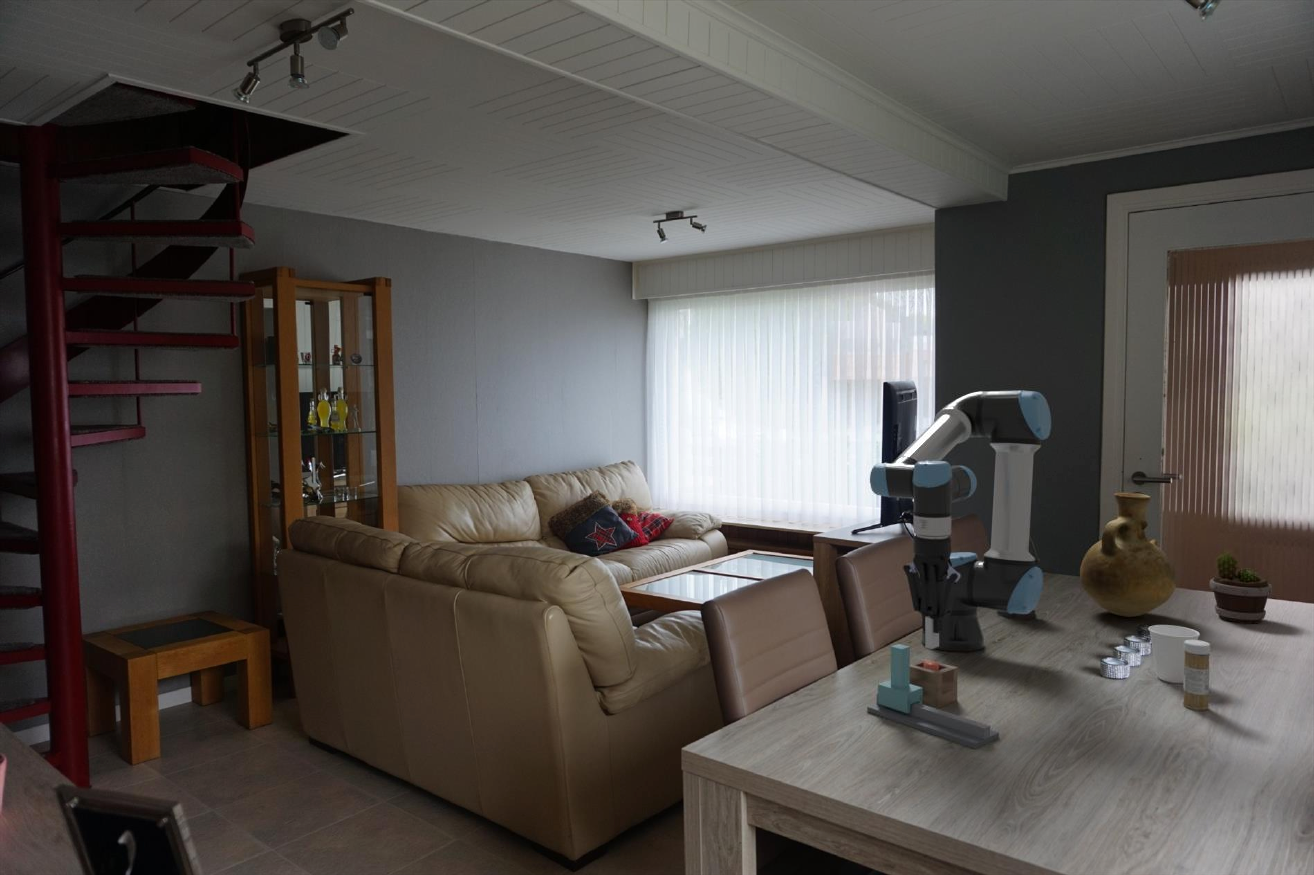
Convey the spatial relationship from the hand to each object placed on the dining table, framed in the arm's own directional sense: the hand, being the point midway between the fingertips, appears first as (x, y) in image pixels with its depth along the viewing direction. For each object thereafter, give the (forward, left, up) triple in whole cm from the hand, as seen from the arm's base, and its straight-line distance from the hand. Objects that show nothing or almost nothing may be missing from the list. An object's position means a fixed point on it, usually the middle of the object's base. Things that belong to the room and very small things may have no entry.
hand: (932, 646), depth 183 cm
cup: (+27, +52, -11) cm, 59 cm away
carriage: (+1, -12, -9) cm, 16 cm away
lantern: (-25, +79, -11) cm, 83 cm away
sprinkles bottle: (+37, +37, -11) cm, 53 cm away
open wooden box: (0, 0, -11) cm, 11 cm away
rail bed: (+8, -12, -11) cm, 19 cm away
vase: (-4, +101, -11) cm, 101 cm away
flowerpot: (+18, +121, -11) cm, 122 cm away
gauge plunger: (0, 0, -8) cm, 8 cm away
